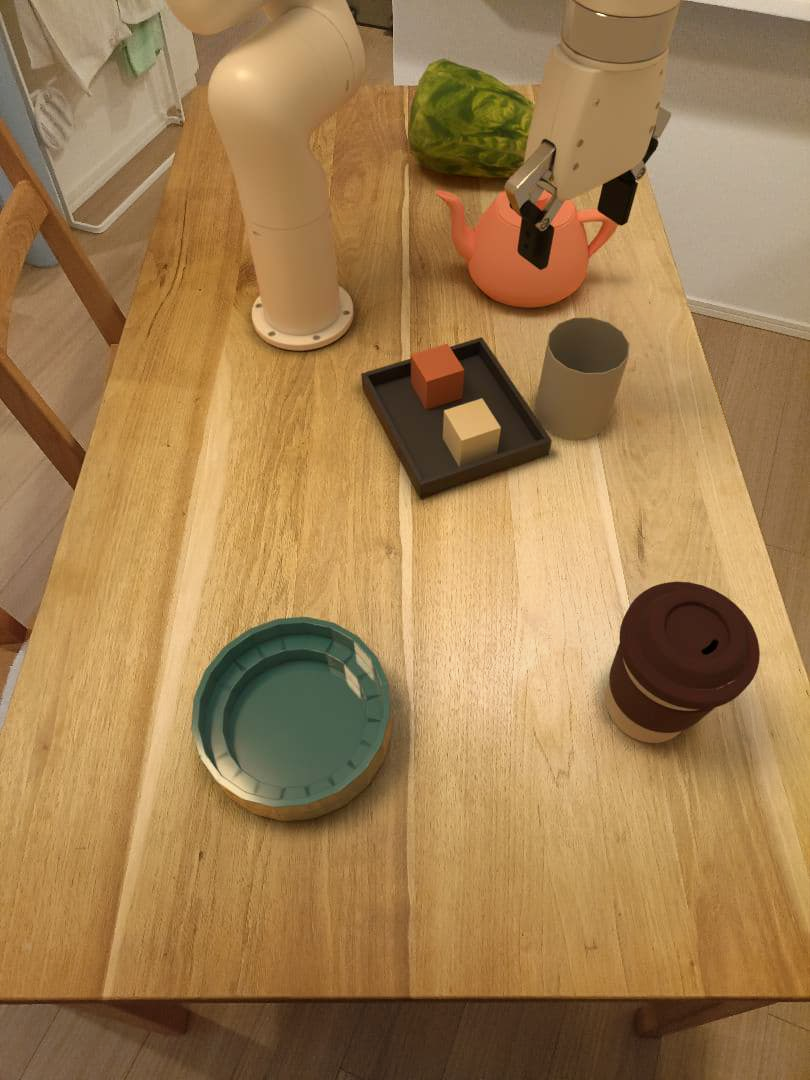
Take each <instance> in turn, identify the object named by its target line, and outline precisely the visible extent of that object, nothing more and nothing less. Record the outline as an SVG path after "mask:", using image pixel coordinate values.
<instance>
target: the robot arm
mask: <svg viewBox="0 0 810 1080" xmlns="http://www.w3.org/2000/svg"><path fill="white" fill-rule="evenodd" d="M681 1H682V0H565V4H564V10H563V18H562V24H561V31H560V36H559V43H558V44H557V45H555V46H554V47H552V49H551V50H550V53H549V56H548V59H547V62H546V65H545V67H544V71H543V74H542V77H541V80H540V84H539V88H538V91H537V95H536V98H535V102H534V105H535V107H534V111H533V116H532V121H531V125H530V130H529V136H528V141H527V147H526V153H525V159H524V164H523V165H522V166H521V167H520V168H519V169H518V170H517V171H516V172H515V173H514V174H513V175H512V176H511V177H508V179H507V180H506V181H505V184H504V187H503V189H504V191H505V192H506V195H507V197H508V200H509V202H510V208H511V209H512V210H514V211H515V212H516V213H517V214H518V215H519V216H521V217H522V220H521V227H520V234H519V241H518V249H517V250H518V253H519V255H521V256H522V257H523V258H525V259H526V260H527V261H529V262H530V263H531V264H533V265H534V266H535V267H537V268H538V269H539V270H543V269H544V268H546V267H547V266H548V262H549V257H550V251H551V246H552V241H553V235H554V227H553V226H552V225H551V224H550V223H551V222H552V220H553V219H554V217H555V215H556V214H557V212H558V211H559V209H560V208H561V206H562V204H563V203H564V201H566V200H570V199H571V200H573V199H576V198H578V197H580V196H583V195H584V194H586V193H589V192H590V191H593V190H595V189H596V188H598V187H601V190H600V194H599V200H598V202H597V207H596V209H598V211H599V212H600V213H602V214H603V215H605V216H606V217H608V218H609V219H611V220H612V221H614V222H615V223H617V224H618V226H620V227H622V226H624V225H626V224H628V222H629V219H630V215H631V211H632V208H633V204H634V201H635V196H636V194H637V189H638V187H639V183H638V182H637V181H641V180H642V179H643V178H644V176H645V175H646V172H647V166H646V164H647V162H648V161H649V160H650V159H651V157H652V155H653V154H654V153H655V152H656V151H657V148H658V146H659V140H658V139H661V136H662V135H663V133H664V131H665V129H666V127H667V125H668V124H669V122H670V120H671V118H672V112H670V111H669V110H667V109H665V108H663V107H662V106H661V100H662V96H663V90H664V85H665V79H666V73H667V68H668V67H667V66H668V60H669V53H670V51H669V50H670V43H671V39H672V35H673V31H674V28H675V24H676V19H677V16H678V12H679V9H680V5H681ZM164 2H165V3H166V5H167V6H168V8H169V9H170V11H171V12H172V14H173V15H174V17H175V18H176V19H177V20H178V22H179V23H180V24H181V25H182V26H183V27H185V29H187V30H189V31H190V32H192V33H194V34H197V35H202V36H211V35H216V34H218V33H221V32H223V31H225V30H227V29H229V28H231V27H233V26H235V25H236V24H238V23H239V22H241V21H243V20H245V19H246V18H248V17H249V16H251V15H252V14H254V13H255V12H256V11H258V10H260V9H261V8H262V10H263V11H264V13H265V15H266V17H267V19H268V20H269V23H268V24H266V25H263V27H260V28H259V29H258V30H256V31H255V32H253V33H252V34H250V35H249V36H248V37H246V38H244V39H243V40H241V41H240V42H238V43H237V44H236V45H235V46H234V47H232V48H231V49H230V50H229V51H228V52H226V54H225V55H224V56H223V57H221V59H220V60H219V62H217V64H216V66H215V67H214V69H213V71H212V73H211V76H210V78H209V82H208V86H207V102H208V103H207V104H208V108H209V111H210V115H211V118H212V120H213V123H214V126H215V127H216V128H215V129H216V130H217V133H218V135H219V137H220V140H221V141H222V144H223V147H224V149H225V152H226V155H227V157H228V161H229V163H230V166H231V170H232V174H233V178H234V181H235V185H236V190H237V194H238V199H239V203H240V208H241V211H242V215H243V220H244V226H245V229H246V230H245V231H246V235H247V239H248V240H247V241H248V245H249V250H250V254H251V259H252V264H253V269H254V273H255V278H256V282H257V288H258V292H259V295H258V296H257V297H256V299H255V301H254V302H253V304H252V307H251V320H252V325H253V328H254V330H255V332H256V334H257V335H258V336H259V337H260V338H261V339H262V340H263V341H264V342H266V343H267V344H269V345H271V346H274V347H276V348H279V349H282V350H288V351H299V352H300V351H301V352H302V351H310V350H311V351H312V350H316V349H320V348H323V347H325V346H329V345H330V344H332V343H334V342H335V341H337V340H339V339H340V338H342V336H343V335H345V334H346V332H348V330H349V329H350V327H351V325H352V323H353V320H354V313H355V312H354V304H353V299H352V298H351V296H350V294H349V292H347V291H346V290H345V288H343V287H342V286H341V285H339V277H338V267H337V258H336V248H335V246H336V245H335V239H334V238H335V237H334V227H333V217H332V208H331V198H330V191H329V183H328V178H327V174H326V172H325V168H324V167H323V165H322V163H321V162H320V161H319V159H318V158H317V157H316V155H315V154H314V153H313V151H312V148H311V146H310V140H311V137H312V135H313V133H314V132H315V131H316V130H317V129H318V128H320V126H322V125H323V124H324V123H325V122H326V121H327V120H329V118H331V117H332V116H333V115H335V113H336V112H338V111H339V110H340V109H341V108H343V107H345V105H346V104H347V103H348V102H349V101H350V100H351V99H352V98H354V96H355V95H356V94H357V93H358V92H359V90H360V89H361V86H362V84H363V81H364V78H365V76H366V75H365V74H366V54H365V47H364V44H363V43H364V42H363V40H362V37H361V34H360V31H359V28H358V26H357V23H356V20H355V18H354V15H353V13H352V11H351V9H350V6H349V3H348V2H347V0H164ZM551 177H553V184H554V185H553V184H552V183H551V182H549V180H550V178H551ZM544 190H546V191H547V192H548V193H550V194H551V195H552V196H551V198H550V199H549V201H548V203H547V204H546V206H545V207H544V209H543V211H541V210H540V209H539V208H538V207H537V206H536V205H535V204H536V202H537V201H538V199H539V197H540V196H541V194H542V193H543V191H544Z"/></svg>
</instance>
